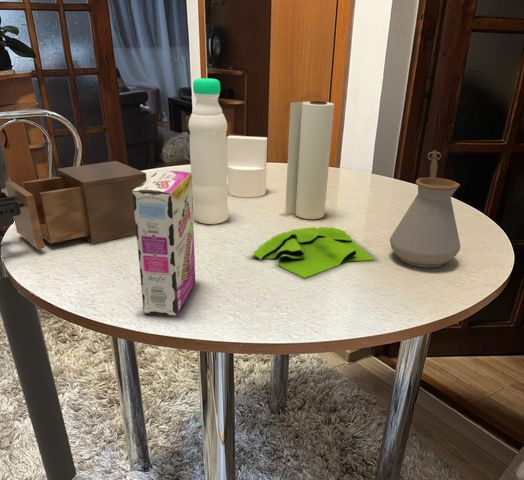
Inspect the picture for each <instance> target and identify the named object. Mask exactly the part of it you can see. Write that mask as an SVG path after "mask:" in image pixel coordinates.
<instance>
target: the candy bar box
mask: <svg viewBox="0 0 524 480" xmlns="http://www.w3.org/2000/svg"><path fill="white" fill-rule="evenodd" d="M192 183H193V182H192V173H191V172H189V171H188V172H187V171H179V170H177V171H176V170H158V171H156V172H155V173H153V175H151V176H150V177H148V178H147V180H146V181H145V182H143V183H142V184H141V185H139V186H138V187H137V188H135V189H134V190H133V191H132V193H133V203H134V214H135V224H136V235H135V236H136V245H137V253H138V265H139V266H138V267H139V273H140V274H139V276H140V285H141V286H140V287H141V297H142V309H143V314H146V315H154V316H155V315H157V316H165V317H178V316H179V314H180V312H181V310H182V308H183V306H184V304H185V302H186V300H187V298H188V297H189V295H190V293H191V292H192V289H193V288H194V286H195V284H196V259H195V256H196V255H195V235H194V230H195V229H194V228H195V227H194V218H193V195H192Z"/></svg>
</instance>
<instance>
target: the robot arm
mask: <svg viewBox="0 0 524 480" xmlns="http://www.w3.org/2000/svg"><path fill="white" fill-rule="evenodd" d="M10 177H11V176H10V173H9V169H8V164H7V160H6V156H5V151H4V147H3V143H2V139H1V137H0V198H4V197H9V196H8V192H7V188H6V184H5V182H10V181H11V178H10ZM20 214H21V211H20V207H19V204H18V202H16V201H8V202H2V203H0V219H2V218H7V217H12V216H17V215H20Z"/></svg>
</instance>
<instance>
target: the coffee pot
mask: <svg viewBox="0 0 524 480" xmlns="http://www.w3.org/2000/svg"><path fill="white" fill-rule="evenodd" d="M430 155H431V157H429V156H430ZM438 155H439V156H438ZM427 158H428V160H430V161H431V163H430V166H429V175H430V176H429V177H421V178H417V179H416V180H415V184H416V186H417V194H416V196H415V197H414V199H413V201H412V202H411V204H410V205H409V207H408V209H407V210H406V212H405V214H403V217H402V218H401V220H400V221H399V223H398V224H397V226H396V228H395V229H394V230H393V233H392V234H391V236H390V238H389V243H390V247H391V250H392V251H393V253H395V255H397V257H398V259H399V260H400V261H401V262H403V263H404V264H407V265H409V266H414V267H419V268H427V269H430V268H431V269H432V268H439V267H441V266H444V264H445V263H448V262H450V261H451V260H453V259H454V258H455V257H456V256H457V255H458V254H459V252H460V250H461V242H460V237H459V232H458V227H457V221H456V217H455V212H454V207H453V201H452V196H453V195H454V193H455V192H456V191H457V190H458V188H460V187H461V184H460V183H458V182H456V181H454V180H451V179H447V178H440V177H437V175H438V167H439V164H438V161H439V160H440V159H441V158H442V154H441V153H440V152H439V151H437V150H436V149H434V150H432V151H431V152H429V153H428V154H427Z"/></svg>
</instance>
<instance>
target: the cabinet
mask: <svg viewBox="0 0 524 480" xmlns="http://www.w3.org/2000/svg"><path fill="white" fill-rule="evenodd" d="M55 170H56V173H57V177H62V176H63V177H65V178H67V179H69V180H71V181H73V182H75V183H77V184H78V185H80V186H82V190H83V197H84V203H85V209H86V215H87V221H88V227H89V234H90V235H89V236H84V237H82V238H83V239H84V240H86V241H87V242H89V243H91V244H92V245H95V244H101V243H104V242H110V241H115V240H118V239H123V238H127V237H132V236H137V235H136V224H135V214H134V203H133V193H132V191H133V190H134V189H135V188H137V187H138V186H139V185H141V184H142V183H143V182H145V181H146V180H147V179H148V178H147V173H146V172H144V171H142V170H139V169H137V168H134V167H133V166H132V167H131V166H130V165H127V164H124V163H122V162H119V161H118V160H114V161H107V162H106V161H105V162H98V163H91V164H83V165H76V166H69V167H68V166H67V167H61V168H56V169H55Z"/></svg>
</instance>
